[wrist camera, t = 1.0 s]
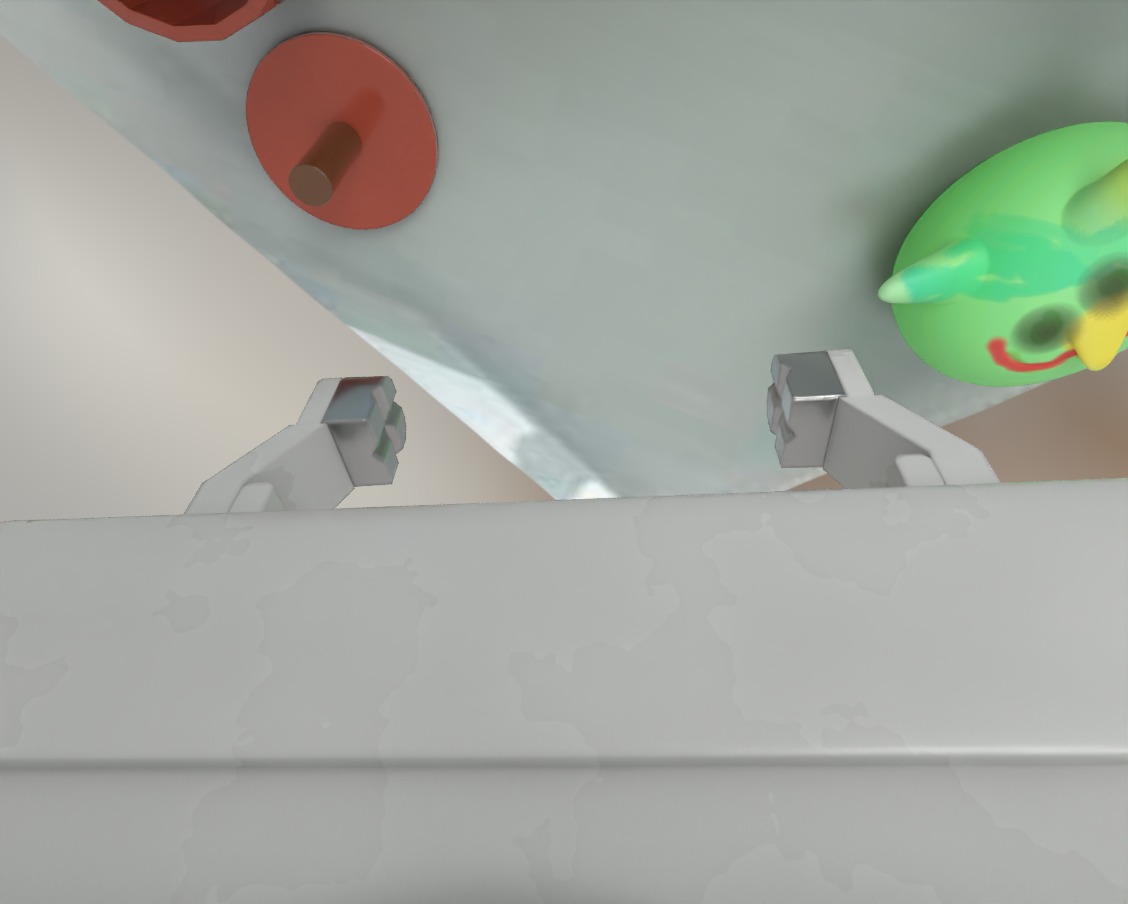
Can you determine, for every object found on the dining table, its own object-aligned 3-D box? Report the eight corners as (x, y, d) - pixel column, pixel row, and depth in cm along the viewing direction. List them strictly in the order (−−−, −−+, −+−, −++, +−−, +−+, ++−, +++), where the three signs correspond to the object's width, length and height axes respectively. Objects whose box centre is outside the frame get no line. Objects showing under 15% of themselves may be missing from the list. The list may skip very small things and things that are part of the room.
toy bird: (923, 350, 58) (996, 472, 48) (818, 216, 50) (879, 327, 40) (1164, 208, 49) (1322, 320, 38) (1084, 16, 41) (1254, 92, 30)
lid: (210, 85, 45) (149, 130, 39) (367, -11, 41) (326, 24, 35) (332, 247, 53) (297, 307, 47) (473, 181, 49) (455, 236, 43)
